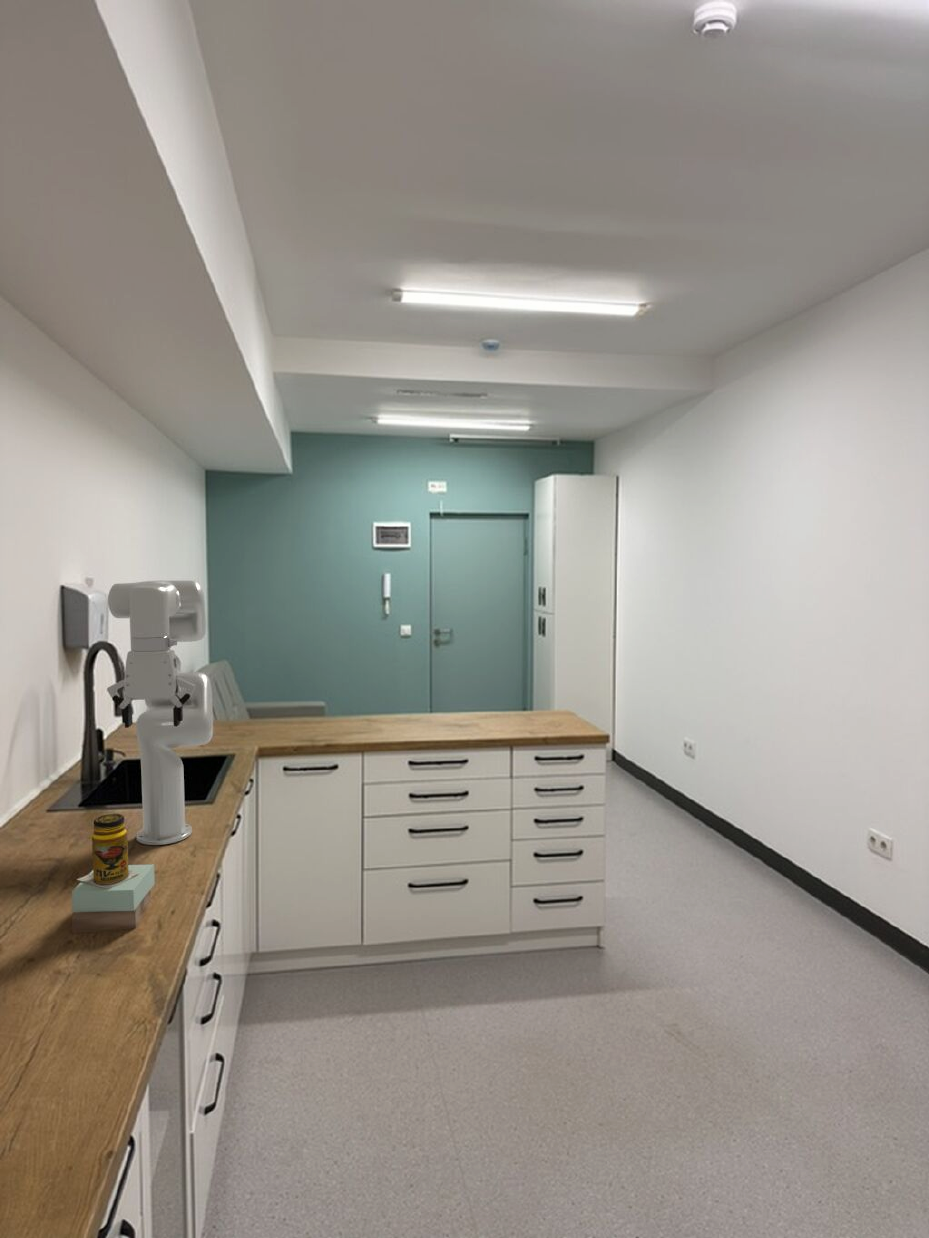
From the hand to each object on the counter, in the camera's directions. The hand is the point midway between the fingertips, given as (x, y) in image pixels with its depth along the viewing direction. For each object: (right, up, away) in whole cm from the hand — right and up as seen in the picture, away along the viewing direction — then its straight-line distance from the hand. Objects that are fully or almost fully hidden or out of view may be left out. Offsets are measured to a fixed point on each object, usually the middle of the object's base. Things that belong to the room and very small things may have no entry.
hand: (153, 725), depth 153 cm
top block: (-2, -31, -13) cm, 34 cm away
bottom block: (-2, -35, -13) cm, 38 cm away
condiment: (-3, -27, -14) cm, 31 cm away
